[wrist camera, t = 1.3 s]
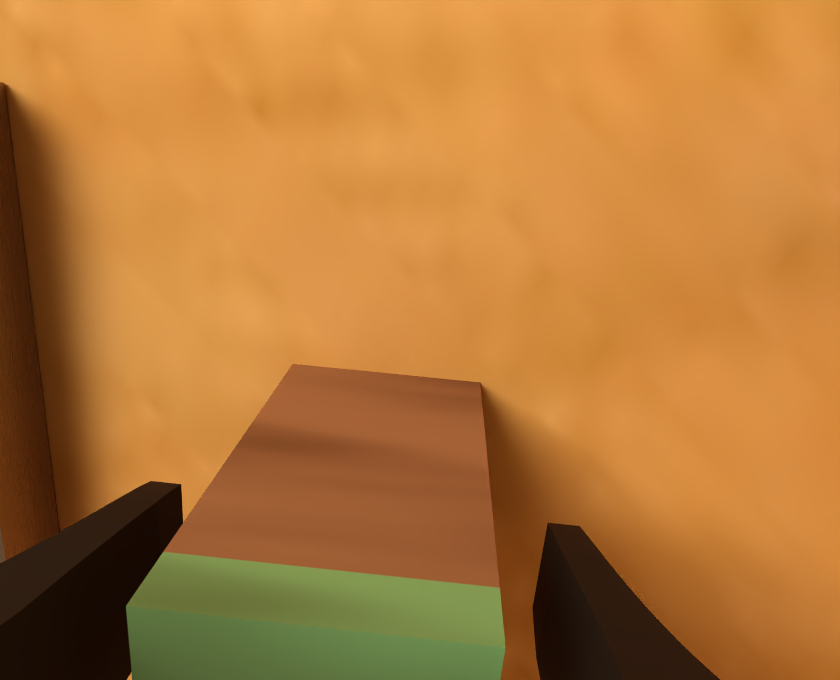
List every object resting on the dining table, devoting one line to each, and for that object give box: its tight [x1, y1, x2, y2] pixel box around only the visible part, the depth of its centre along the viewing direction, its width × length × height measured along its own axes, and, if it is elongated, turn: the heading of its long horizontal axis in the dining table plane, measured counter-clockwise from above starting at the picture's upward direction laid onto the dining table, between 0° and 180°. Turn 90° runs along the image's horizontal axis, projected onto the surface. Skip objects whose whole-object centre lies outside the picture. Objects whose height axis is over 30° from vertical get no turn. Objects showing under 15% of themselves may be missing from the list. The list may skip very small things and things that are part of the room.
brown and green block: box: [126, 364, 506, 680], centre depth 12 cm, size 4×4×8 cm
